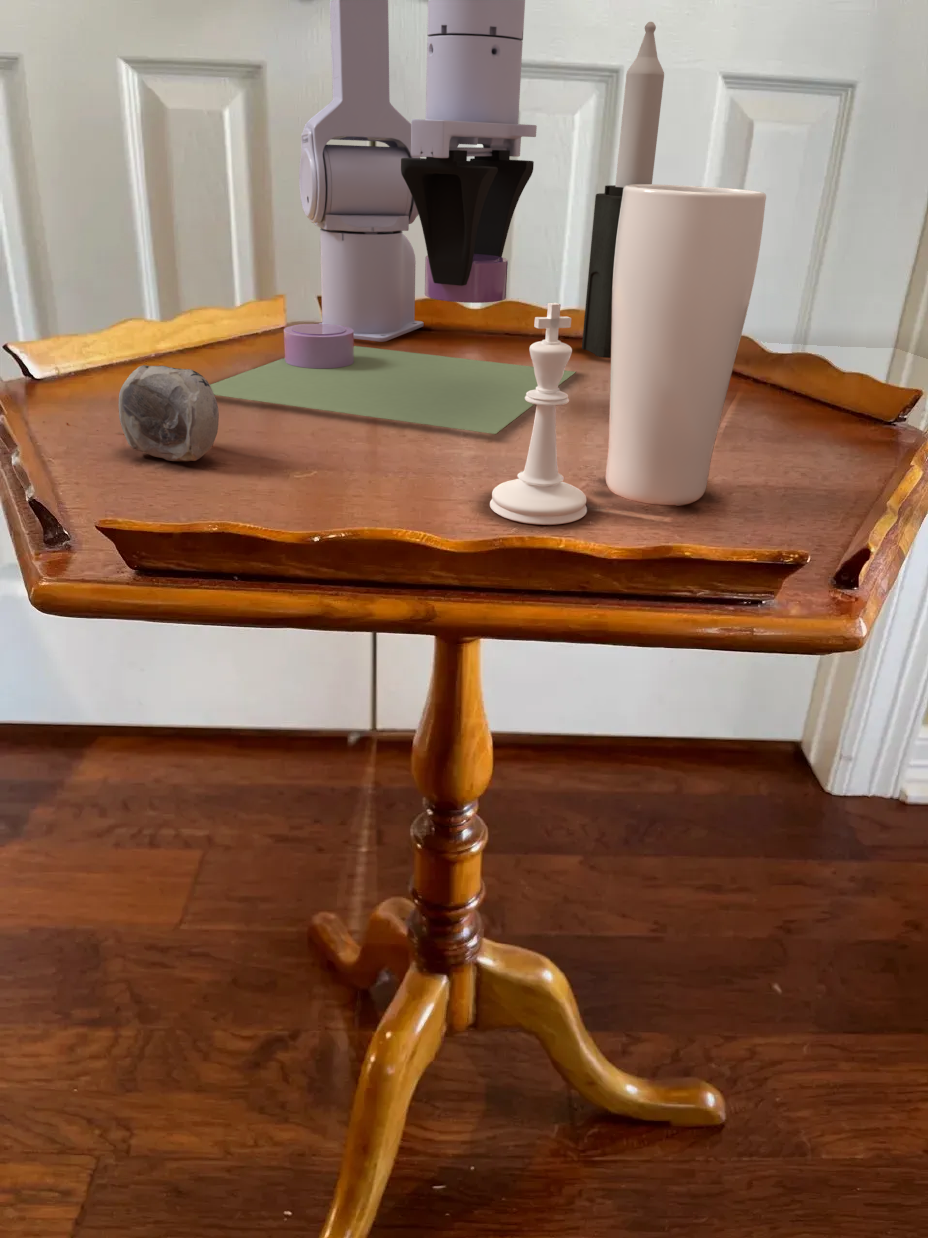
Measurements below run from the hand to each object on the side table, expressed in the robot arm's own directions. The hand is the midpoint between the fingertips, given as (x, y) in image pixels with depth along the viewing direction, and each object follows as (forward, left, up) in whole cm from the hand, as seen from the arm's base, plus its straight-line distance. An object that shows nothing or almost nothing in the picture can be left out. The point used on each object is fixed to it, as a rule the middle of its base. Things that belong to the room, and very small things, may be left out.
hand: (465, 278), depth 65 cm
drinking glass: (+13, +16, -8) cm, 22 cm away
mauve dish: (0, 0, -1) cm, 1 cm away
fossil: (+19, -10, -8) cm, 23 cm away
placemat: (-3, -6, -8) cm, 11 cm away
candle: (-23, +6, -8) cm, 25 cm away
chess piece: (+18, +11, -8) cm, 23 cm away
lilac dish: (-6, -14, -8) cm, 17 cm away
